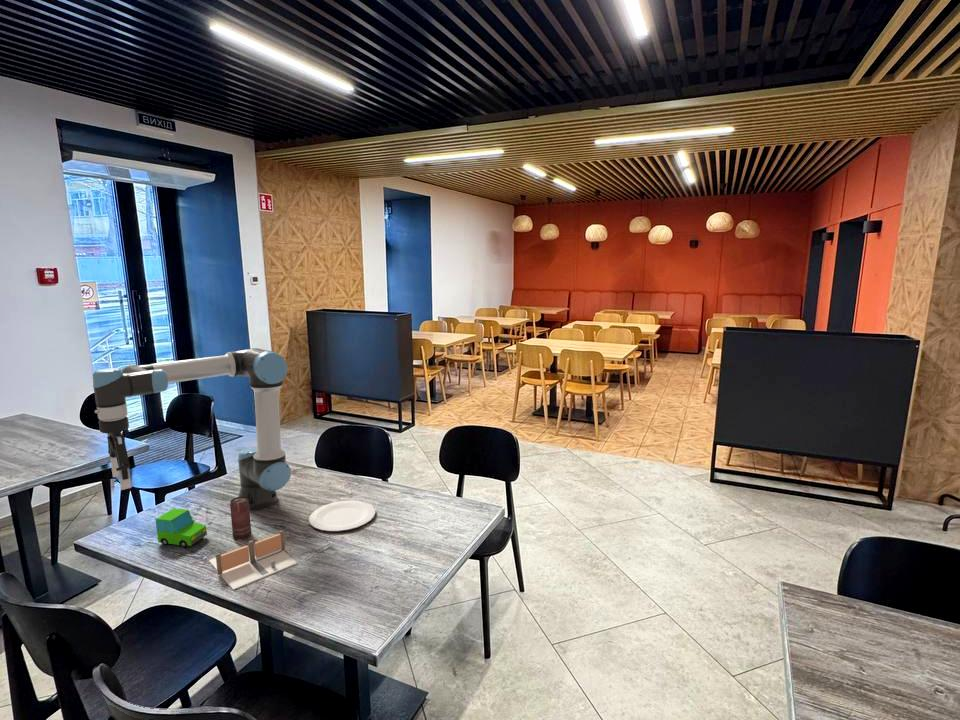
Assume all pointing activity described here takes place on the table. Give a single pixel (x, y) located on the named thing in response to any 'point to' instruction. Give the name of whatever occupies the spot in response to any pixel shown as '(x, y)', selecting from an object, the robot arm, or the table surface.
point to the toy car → (179, 528)
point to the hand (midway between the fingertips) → (122, 482)
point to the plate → (342, 516)
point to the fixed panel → (266, 546)
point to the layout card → (256, 568)
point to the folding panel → (232, 559)
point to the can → (240, 518)
